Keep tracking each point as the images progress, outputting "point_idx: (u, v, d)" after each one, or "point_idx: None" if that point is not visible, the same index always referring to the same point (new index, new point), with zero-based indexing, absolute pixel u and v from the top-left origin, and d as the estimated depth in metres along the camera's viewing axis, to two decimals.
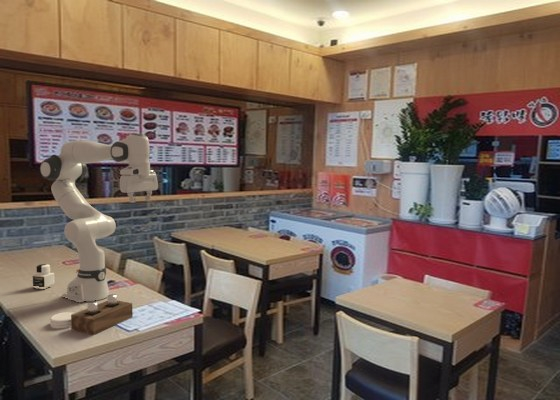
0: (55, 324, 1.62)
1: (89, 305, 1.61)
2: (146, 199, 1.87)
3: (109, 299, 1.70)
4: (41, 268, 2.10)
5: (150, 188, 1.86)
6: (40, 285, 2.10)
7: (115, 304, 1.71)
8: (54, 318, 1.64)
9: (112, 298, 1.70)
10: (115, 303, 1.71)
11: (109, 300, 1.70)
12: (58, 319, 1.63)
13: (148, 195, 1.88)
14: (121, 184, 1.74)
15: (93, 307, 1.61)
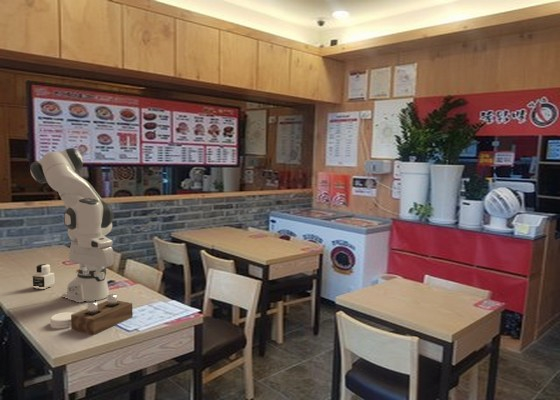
0: (55, 324, 1.62)
1: (89, 305, 1.61)
2: (86, 273, 1.62)
3: (109, 299, 1.70)
4: (41, 268, 2.10)
5: None
6: (40, 285, 2.10)
7: (115, 304, 1.71)
8: (54, 318, 1.64)
9: (112, 298, 1.70)
10: (115, 303, 1.71)
11: (109, 300, 1.70)
12: (58, 319, 1.63)
13: (85, 268, 1.63)
14: (107, 258, 1.56)
15: (93, 307, 1.61)
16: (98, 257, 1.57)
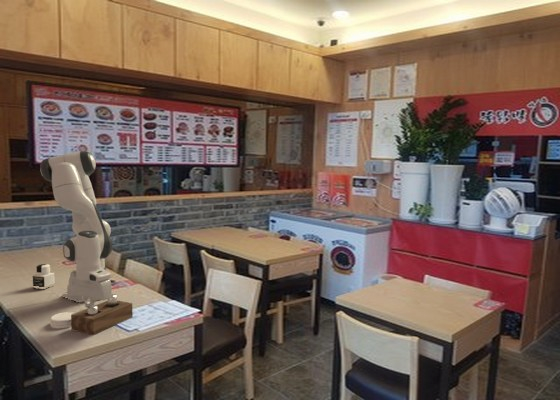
0: (55, 324, 1.62)
1: (89, 309, 1.61)
2: None
3: (109, 299, 1.70)
4: (41, 268, 2.10)
5: None
6: (40, 285, 2.10)
7: (115, 304, 1.71)
8: (54, 318, 1.64)
9: (112, 298, 1.70)
10: (115, 303, 1.71)
11: (109, 300, 1.70)
12: (58, 319, 1.63)
13: (88, 300, 1.63)
14: (105, 291, 1.56)
15: (93, 311, 1.61)
16: (96, 290, 1.57)
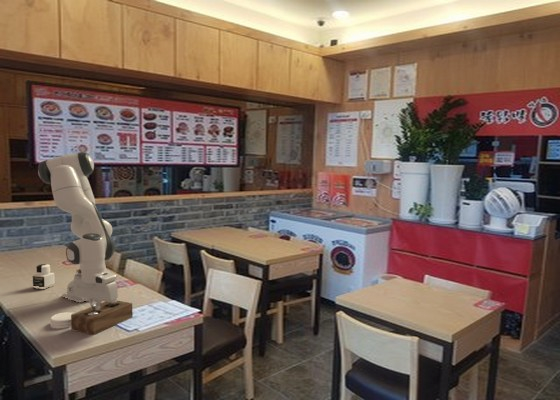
0: (55, 324, 1.62)
1: None
2: None
3: None
4: (41, 268, 2.10)
5: None
6: (40, 285, 2.10)
7: (115, 304, 1.71)
8: (54, 318, 1.64)
9: None
10: (115, 303, 1.71)
11: None
12: (58, 319, 1.63)
13: (93, 302, 1.64)
14: (111, 293, 1.58)
15: None
16: (103, 292, 1.59)
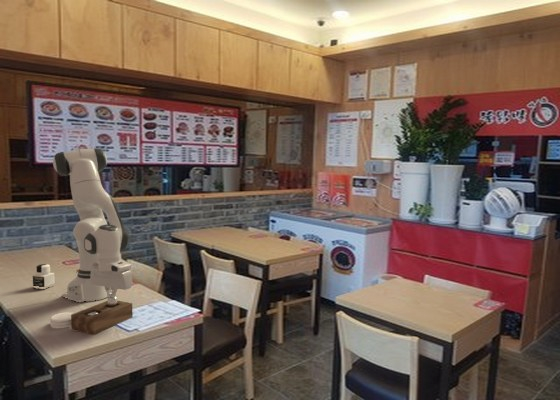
0: (55, 324, 1.62)
1: None
2: None
3: (109, 300, 1.70)
4: (41, 268, 2.10)
5: None
6: (40, 285, 2.10)
7: (115, 305, 1.71)
8: (54, 318, 1.64)
9: (112, 299, 1.70)
10: (115, 305, 1.71)
11: (109, 301, 1.70)
12: (58, 319, 1.63)
13: (109, 291, 1.72)
14: (126, 281, 1.66)
15: None
16: (118, 280, 1.66)
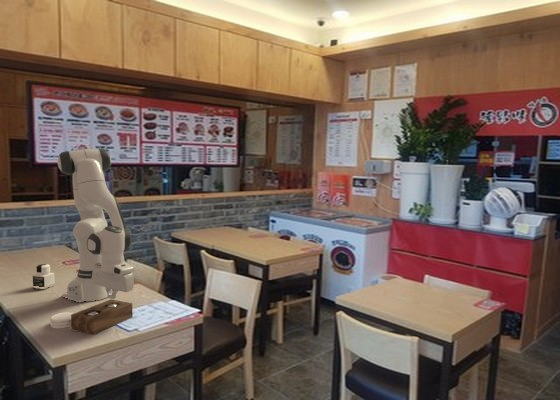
0: (55, 324, 1.62)
1: None
2: None
3: None
4: (41, 268, 2.10)
5: None
6: (40, 285, 2.10)
7: None
8: (54, 318, 1.64)
9: None
10: None
11: None
12: (58, 319, 1.63)
13: (110, 291, 1.73)
14: (128, 284, 1.67)
15: None
16: (120, 282, 1.67)
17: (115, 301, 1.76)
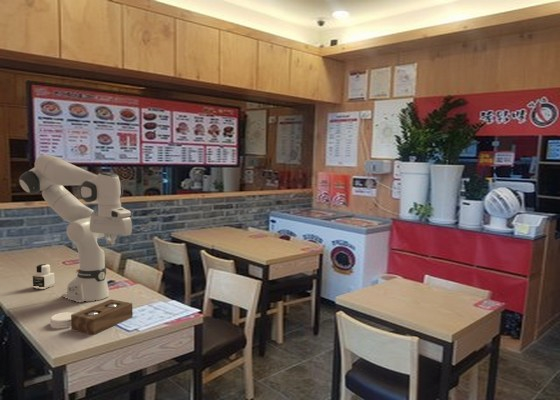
0: (55, 324, 1.62)
1: None
2: None
3: None
4: (41, 268, 2.10)
5: None
6: (40, 285, 2.10)
7: None
8: (54, 318, 1.64)
9: None
10: None
11: None
12: (58, 319, 1.63)
13: (108, 238, 1.73)
14: (126, 227, 1.67)
15: None
16: (118, 226, 1.67)
17: (115, 301, 1.76)
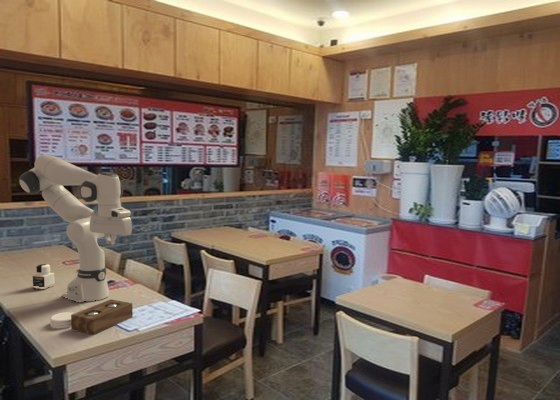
0: (55, 324, 1.62)
1: None
2: None
3: None
4: (41, 268, 2.10)
5: None
6: (40, 285, 2.10)
7: None
8: (54, 318, 1.64)
9: None
10: None
11: None
12: (58, 319, 1.63)
13: (108, 238, 1.73)
14: (126, 226, 1.67)
15: None
16: (118, 226, 1.67)
17: (115, 301, 1.76)
